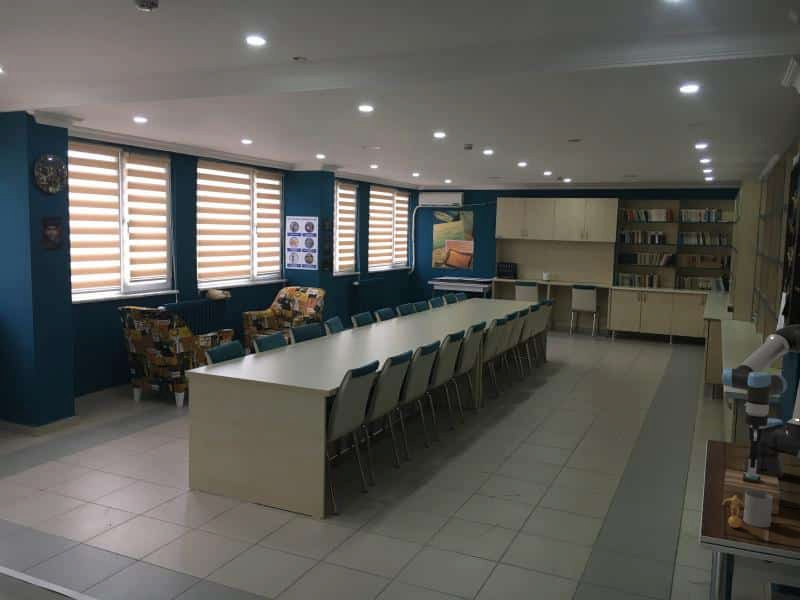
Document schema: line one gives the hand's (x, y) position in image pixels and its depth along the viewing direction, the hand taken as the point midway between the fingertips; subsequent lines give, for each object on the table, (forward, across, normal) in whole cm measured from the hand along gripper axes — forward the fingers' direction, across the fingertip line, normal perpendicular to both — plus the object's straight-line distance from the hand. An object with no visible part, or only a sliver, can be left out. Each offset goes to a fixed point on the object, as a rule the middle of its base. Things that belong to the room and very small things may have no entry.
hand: (751, 475), depth 253 cm
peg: (+8, 0, 0) cm, 8 cm away
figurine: (+11, +30, -5) cm, 32 cm away
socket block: (+10, 0, 0) cm, 10 cm away
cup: (+11, +20, +2) cm, 23 cm away
